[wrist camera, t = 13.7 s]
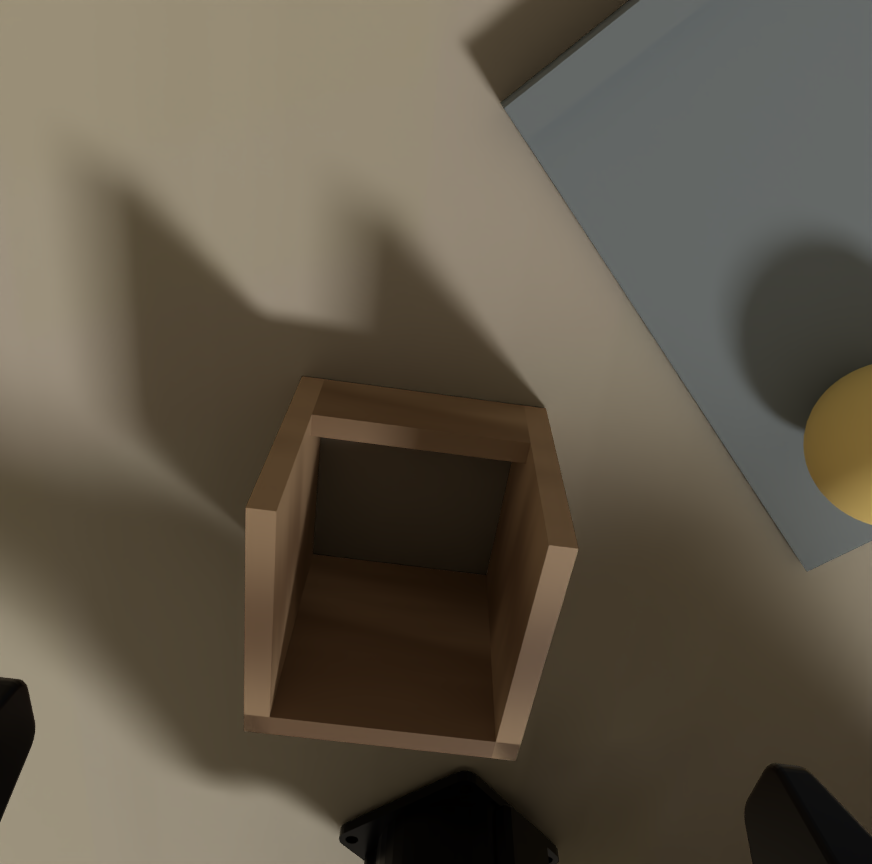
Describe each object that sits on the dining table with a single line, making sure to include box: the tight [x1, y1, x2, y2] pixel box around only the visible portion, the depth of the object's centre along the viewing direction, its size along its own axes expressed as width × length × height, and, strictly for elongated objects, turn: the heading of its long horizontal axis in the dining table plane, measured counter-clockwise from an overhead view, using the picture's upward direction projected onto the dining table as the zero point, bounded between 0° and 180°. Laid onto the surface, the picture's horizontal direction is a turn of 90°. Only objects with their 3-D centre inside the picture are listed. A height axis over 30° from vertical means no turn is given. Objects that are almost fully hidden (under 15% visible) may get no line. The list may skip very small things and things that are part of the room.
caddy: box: [244, 376, 579, 761], centre depth 19 cm, size 7×7×6 cm
